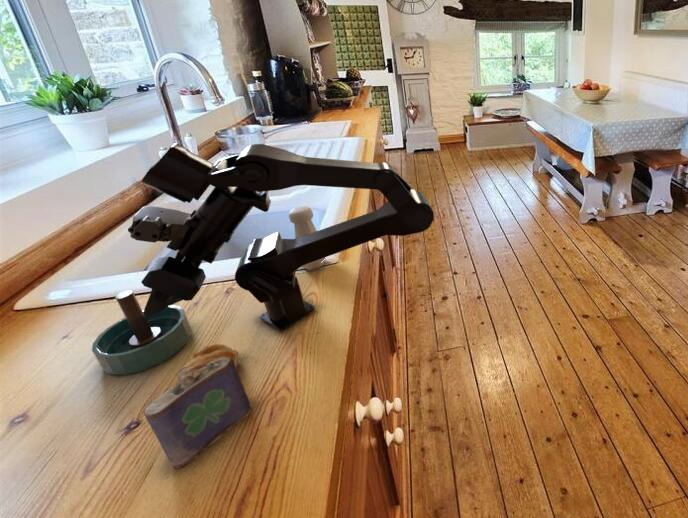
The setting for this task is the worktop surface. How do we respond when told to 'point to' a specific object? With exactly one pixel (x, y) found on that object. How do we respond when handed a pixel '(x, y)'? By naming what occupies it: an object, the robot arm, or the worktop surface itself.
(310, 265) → the salt shaker
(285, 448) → the worktop surface
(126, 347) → the bowl
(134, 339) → the brown wooden peg
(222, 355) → the pastry
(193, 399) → the flask
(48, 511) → the worktop surface
